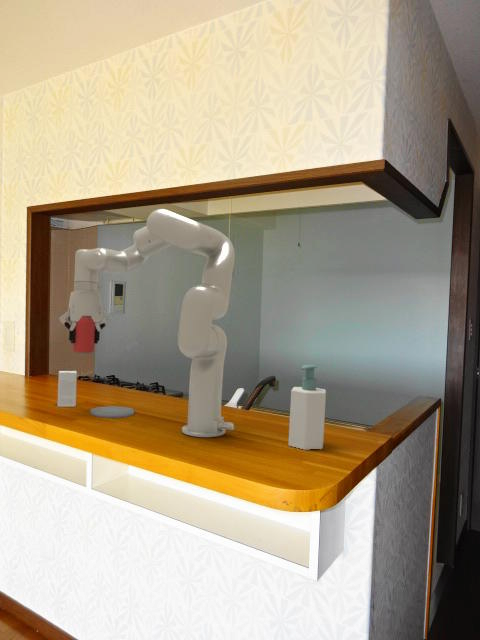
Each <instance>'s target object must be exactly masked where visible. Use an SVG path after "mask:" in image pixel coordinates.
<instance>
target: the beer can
mask: <svg viewBox="0 0 480 640" xmlns="http://www.w3.org/2000/svg"><path fill="white" fill-rule="evenodd" d="M91 317H92V316H82V317H81V318H80V320H79V321H78V322H76V326H75V328H74V331H75V343H72V344H73V347H72V351H73V353H75V354H93V353H94V352H95V323H94V321H93V319H92V318H91Z"/></svg>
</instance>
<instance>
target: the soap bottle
mask: <svg viewBox="0 0 480 640" xmlns="http://www.w3.org/2000/svg"><path fill="white" fill-rule="evenodd" d="M317 368H318V367H317V365H315V364H304V365H302V366H301V370H302V371H303V370H304V371H305V377H302V381H301V383H302V384H301V386H293V388H291V391H290V406H289V407H290V410H289V427H288V444H287V445H288V447H291V446H292V448H295V447H296V449H299V448H300V449H299V450H302V449H303V451H311V450H310V449H320V450H322V449H323V447H324V437H325V436H324V435H325V421H326V420H325V417H326V415H325V414H326V397H327V390H326V389H325V388H319V387H317V378H315V369H317Z"/></svg>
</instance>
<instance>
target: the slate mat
mask: <svg viewBox="0 0 480 640" xmlns="http://www.w3.org/2000/svg"><path fill="white" fill-rule="evenodd" d="M134 414H135V410H134V408H131V407H128V406H127V407H126V406H117V405H116V406H114V405H111V406H99V407H94V408H92V409H90V415H91V416H93V417H97V418H104V419H107V418H108V419H116V418H117V419H118V418H119V419H121V418H128V417H132V416H134Z"/></svg>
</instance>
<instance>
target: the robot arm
mask: <svg viewBox="0 0 480 640" xmlns="http://www.w3.org/2000/svg"><path fill="white" fill-rule="evenodd" d="M145 225H146V226H145ZM145 225H144V226H142V227H141V228H139V229H137V230H135V232H134V233H133V236H132V237H133V243H134V244H132V245H130V246H129V247H127V248H125V249H122V250H120V251H119V250H114V249H110V248H106V247H97V248H91V249H86V248H82V249H81V248H80V249H78V250H76V251H75V257H74V280H73V281H74V282H73V291H71V292H70V296H69V301H68V309H67V311H66V312H65V313H64V314H62V315H61V316H60V317H59V321H60V322H61V324H62V325H64V327H65V328H66V329H67V330H68V341H70V344H73V343H75V331H74V328H75V326H76V322H78V321H79V320H80V318H81V317H82V316H92V317H91V318H92V319H93V321H94V323H95V344H96V345H97V344H98V342H99V341H100V332H101V331H102V330H103V329H104V328H105V327H106V325H108V324H109V323H110V321H111V319H109V318H108V316H107V315H105V313H104V312H103V309H102V308H103V307H102V297H101V293H100V292H99V291H101V290H103V289H104V286H103V285H101V284H100V283H99V280H100V279H99V276H100V275H99V274H100V273H105V274H107V273H108V274H113V275H123V274H126V273H128V272H131V271H133V270H134V269H137V268H139V267H140V266H142V265H143V264H144V263H145V262H147V260H148V259H149V257H150V256H152V255H154V254H157V253H158V252H161V251H162V250H164V249H166V248H169V247H171V246H175V247H177V248H179V249H182V250H184V251H187V252H190V253H193V254H197V255H200V256H204V257H205V258H206V259H207V261H206V262H205V265H204V267H203V271H202V278H201V284H198V285H194V286H193V287H191V288H190V289H188V290H187V292H186V293H185V295H184V297H183V299H182V304H181V310H180V317H179V324H178V326H179V327H178V332H177V346H178V348H179V351H180V352H181V353H182V355H184V356H185V357H187V358H189V359H192V360H191V365H190V371H189V387H188V405H187V406H188V410H187V424H186V425H184V426H182V427H181V432H182V433H183V434H184V435H186V436H191V437H196V438H213V437H214V438H215V437H221V436H223V435H225V434H226V431H234V429H235V424H234V423H233V422H229V421H225V420H224V416H222V413H221V412H222V398H223V397H222V395H223V379H224V365H225V359H226V352H227V349H228V348H227V347H228V340H227V339H228V338H227V335H226V333H225V331H224V329H222V328H221V326H218V325H217V324H213V320H219V319H221V318H223V317H224V316H225V315H226V314H227V311H228V308H229V302H230V295H231V294H230V293H231V290H232V289H231V287H232V280H233V279H232V277H233V271H234V266H235V258H236V257H235V256H236V255H235V252H236V251H235V248H234V244H233V243H232V241H231V240H230V238H228V237H227V236H226V235H225V234H224V233H222V232H221V231H219V230H217V229H216V228H213V227H211V226H209V225H206V224H203V223H201V222H199V221H196V220H193V219H191V218H188V217H186V216H183V215H180V214H178V213H177V212H174V211H171V210H169V209H166V208H159V209H156V210H154V211H152V212H150V214H149V216H148V217H147V220H146V224H145ZM66 319H67V320H66ZM102 319H103V321H102ZM68 321H69V322H70V323H69V322H68ZM99 323H100V324H99ZM95 344H94V345H95Z"/></svg>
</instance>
